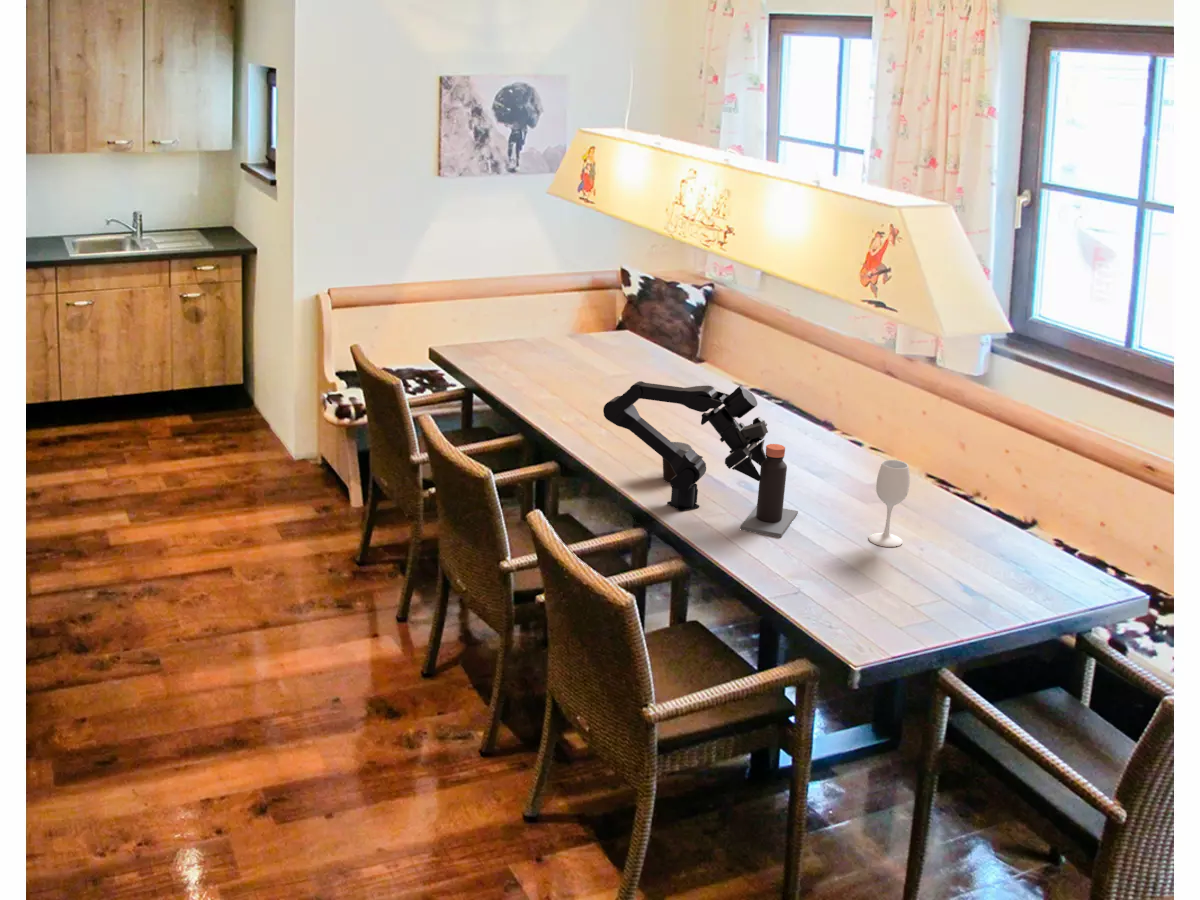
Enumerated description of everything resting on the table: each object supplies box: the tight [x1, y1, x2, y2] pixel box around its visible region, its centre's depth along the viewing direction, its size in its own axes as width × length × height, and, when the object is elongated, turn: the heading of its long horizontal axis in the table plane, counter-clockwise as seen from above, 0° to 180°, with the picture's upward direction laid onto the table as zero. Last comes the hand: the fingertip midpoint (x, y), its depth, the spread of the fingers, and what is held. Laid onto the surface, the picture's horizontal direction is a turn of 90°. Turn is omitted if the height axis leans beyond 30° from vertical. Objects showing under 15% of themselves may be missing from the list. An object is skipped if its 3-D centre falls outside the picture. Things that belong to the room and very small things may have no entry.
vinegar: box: [756, 443, 788, 523], centre depth 340 cm, size 7×7×20 cm
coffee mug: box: [661, 441, 693, 484], centre depth 370 cm, size 12×9×10 cm
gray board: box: [739, 505, 799, 538], centre depth 343 cm, size 11×18×1 cm, turn 159°
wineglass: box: [868, 459, 911, 548], centre depth 332 cm, size 9×9×21 cm
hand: (764, 474), depth 340 cm, fingers open, 9 cm apart
